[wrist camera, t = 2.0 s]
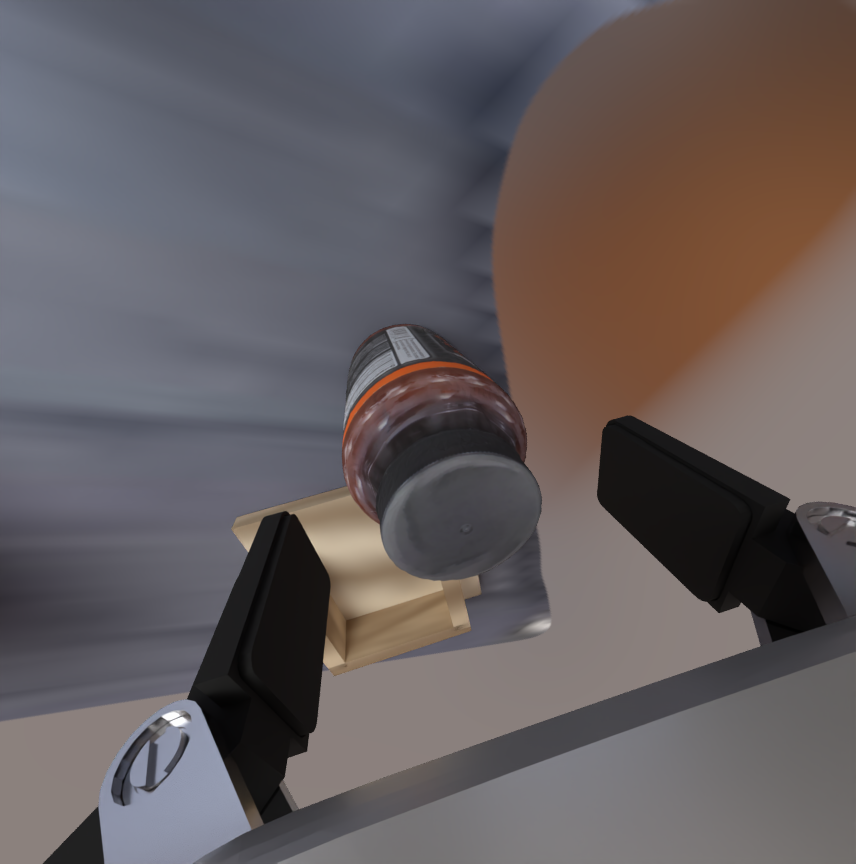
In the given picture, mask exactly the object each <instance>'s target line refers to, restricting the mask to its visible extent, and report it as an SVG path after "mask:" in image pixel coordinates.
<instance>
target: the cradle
mask: <svg viewBox="0 0 856 864" xmlns="http://www.w3.org/2000/svg"><path fill="white" fill-rule="evenodd" d="M283 511H287V512H288V513H289V514H290V515H291V514H295V515H296V516H297V517H298V519H299V521H300V523H301V524H302V526H303V528H304V530H305V532H306V534H307V535H308V537H309V539H310V541H311V543H312V545H313V546H314V548H315V550H316V552H317V554H318V556H319V557H320V559H321V561H322V563H323V565H324V567H325V569H326V570H327V572H328V574H329V577H330V582H331V589H330V599H329V608H328V618H327V628H326V638H325V648H324V658H323V662H324V664H325V665H326V666H327V667H328V669H329V670H330V671H331V673H332V674H333V675H334V676H336V675H339V674H342V673H345V672H348V671H351V670H354V669H357V668H360V667H363V666H366V665H369V664H372V663H375V662H378V661H381V660H384V659H387V658H390V657H393V656H396V655H399V654H402V653H405V652H408V651H411V650H414V649H417V648H420V647H423V646H426V645H429V644H432V643H435V642H438V641H441V640H444V639H447V638H450V637H453V636H457V635H460V634H463V633H466V632H469V631H471V627H470V623H469V618H468V614H467V609H466V605H465V601H464V600H465V599H468V598H471V597H474V596H477V595H480V594H481V589H480V583H479V577H478V575H477V576H473V577H469V578H465V579H460V580H449V581H440V580H439V581H433V580H429V579H421V578H418V577H415V576H412V575H410V574H408V573H407V572H406V571H403V570H401V569H399V568H398V567H397V566H396V565H395V564H394V562H393V561H392V560H391V559H390V558H389V557H388V554H387V553H386V551H385V549H384V546H383V543H382V539H381V533H380V525H379V524H378V523H376V522H375V521H374V520H372V519H371V518H370V517H369V516H367V515H366V514H365V513H364V512H363V511H362V510H361V509H360V507H359V506H358V505H357V504H356V502H355V501H354V499H353V498H352V496H351V494H350V492H349V490H348V487H347V486H346V487H342V488H339V489H335V490H331V491H328V492H324V493H321V494H317V495H314V496H310V497H307V498H303V499H300V500H296V501H293V502H289V503H286V504H282V505H278V506H275V507H271V508H268V509H264V510H261V511H257V512H254V513H250V514H247V515H243V516H240V517H237V518H236V520H235V522H234V525H233V527H232V529H231V530H232V531H233V532H234V534H235V535H236V536H237V538H238V539H239V540H240V542H241V543H242V544H243V546H244V547H245V548H246V550H247V551H248V552H249V550H250V548H251V545H252V543H253V540H254V538H255V535H256V533H257V530H258V528H259V526H260V523H261V521H262V519H263V517H265V516H268V515H272V514H275V513H279V512H283Z"/></svg>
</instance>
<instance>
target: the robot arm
mask: <svg viewBox="0 0 856 864" xmlns="http://www.w3.org/2000/svg"><path fill="white" fill-rule="evenodd" d="M597 497H598V500H599V502H600V504H601V505H602V506H603V507H604V508H605V509H606V510H607V511H608V512H609V513H610V514H611V515H612V516H613V517H614V518H615V519H616V520H617V521H618V522H619V523H620V524H621V525H622V526H623V527H625V529H626V530H627V531H628V532H629V533H631V534H632V535H633V536H634V537H635V538H636V539H637V540H638V541H639V542H640V543H641V544H642V545H643V546H644V547H645V548H646V549H647V550H648V551H649V552H650V553H651V554H652V555H653V556H654V557H655V558H656V559H657V560H658V561H659V562H661V563H662V564H663V565H664V566H665V567H666V568H667V569H668V570H669V571H670V572H671V573H672V574H673V575H674V576H675V577H676V578H677V579H678V580H679V581H680V582H681V583H682V584H683V585H684V586H685V587H686V588H687V589H688V590H689V591H691V593H692V594H694V595H695V596H696V597H697V598H698V599H700V600H702V601H705V602H708V603H709V604H710V605H711V606H712V607H713V608H714V609H715V610H716V611H717V612H718V613H721V612H724V611H727V610H730V609H733V608H736V607H739V605H740V603H743V604H744V605H745V606H746V607H747V608H748V609H750V610H751V614H752V617H753V621H754V624H755V628H756V631H757V635H758V638H759V642H760V645H761V646H760V647H757V648H755V649H752V650H749V651H746V652H743V653H740V654H737V655H734V656H731V657H728V658H725V659H722V660H719V661H717V662H713V663H710V664H708V665H705V666H702V667H699V668H696V669H693V670H690V671H687V672H684V673H681V674H678V675H675V676H672V677H670V678H667V679H664V680H661V681H658V682H655V683H652V684H649V685H646V686H644V687H641V688H638V689H635V690H632V691H629V692H627V693H623V694H620V695H618V696H615V697H612V698H609V699H606V700H603V701H600V702H597V703H595V704H592V705H589V706H586V707H583V708H580V709H577V710H575V711H571V712H569V713H566V714H563V715H560V716H557V717H554V718H551V719H549V720H546V721H543V722H540V723H537V724H534V725H531V726H528V727H526V728H523V729H520V730H517V731H514V732H511V733H509V734H506V735H503V736H500V737H497V738H494V739H491V740H489V741H486V742H483V743H480V744H477V745H474V746H472V747H469V748H466V749H463V750H460V751H458V752H455V753H452V754H449V755H446V756H443V757H441V758H438V759H435V760H432V761H429V762H426V763H424V764H421V765H418V766H415V767H412V768H409V769H407V770H404V771H401V772H398V773H395V774H393V775H390V776H387V777H384V778H382V779H379V780H376V781H374V782H371V783H368V784H365V785H363V786H360V787H357V788H355V789H352V790H350V791H347V792H344V793H341V794H339V795H336V796H334V797H331V798H328V799H326V800H323V801H320V802H318V803H315V804H312V805H310V806H308V807H304V808H302V809H299V808H298V807H297V805H296V803H295V801H294V799H293V797H292V795H291V794H290V792H289V790H288V788H287V786H286V784H285V783H284V781H283V779H284V777H285V771H286V765H287V758H289V757H292V756H295V755H298V754H301V753H303V752H307V747H308V739H309V733H312V732H314V730H315V728H316V724H317V717H318V707H319V697H320V687H321V677H322V667H323V658H324V648H325V638H326V628H327V618H328V608H329V599H330V589H331V582H330V577H329V574H328V572H327V570H326V569H325V567H324V565H323V563H322V561H321V559H320V557H319V556H318V554H317V552H316V550H315V548H314V546H313V545H312V543H311V541H310V539H309V537H308V535H307V534H306V532H305V530H304V528H303V526H302V524H301V523H300V521H299V519H298V517H297V516H296V515H295V514H291V515H290V514H289V513H288V512H287V511H283V512H279V513H275V514H272V515H268V516H265V517H263V519H262V521H261V523H260V526H259V528H258V530H257V533H256V535H255V538H254V540H253V543H252V545H251V548H250V550H249V552H248V555H247V557H246V560H245V562H244V565H243V567H242V570H241V572H240V574H239V577H238V578H237V580H236V582H235V584H234V587H233V589H232V591H231V594H230V596H229V599H228V601H227V603H226V606H225V608H224V611H223V613H222V616H221V618H220V620H219V623H218V625H217V628H216V630H215V633H214V635H213V637H212V640H211V642H210V645H209V647H208V649H207V652H206V654H205V657H204V659H203V662H202V664H201V666H200V669H199V671H198V674H197V676H196V679H195V681H194V683H193V686H192V688H191V691H190V693H189V696H188V698H187V699H185V700H180V701H176V702H173V703H171V704H169V705H167V706H165V707H163V708H161V709H160V710H158V711H157V712H156V713H155V714H153V715H152V716H151V717H149V718H148V719H147V720H146V721H145V722H144V723H143V724H142V725H141V726H140V727H139V728H138V729H137V730H136V731H135V732H134V733H133V734H132V735H131V736H130V738H129V739H128V740H127V741H126V743H125V744H124V745H123V747H122V748H121V749H120V751H119V752H118V753H117V755H116V757H115V758H114V760H113V762H112V764H111V766H110V767H109V769H108V771H107V773H106V776H105V778H104V781H103V784H102V787H101V789H100V796H99V806H98V807H97V808H96V809H95V810H94V811H93V812H92V813H91V814H90V815H89V816H88V817H87V818H86V819H85V821H84V822H83V823H82V824H81V825H80V826H79V827H78V828H77V829H76V830H75V831H74V832H73V833H72V834H71V835H70V836H69V837H68V838H67V839H66V840H65V841H64V842H63V843H62V844H61V845H60V847H59V848H58V849H56V851H54V853H53V854H52V855H51V856H50V857H49V858H48V859H47V860H46V861H45V862H44V863H43V864H856V508H855V507H852V506H848V505H843V504H838V503H831V502H812V503H806V504H804V505H801V506H799V507H798V509H797V510H796V512H795V514H794V513H793V512H791V511H789V510H787V509H786V507H787V505H788V503H789V501H790V499H789V498H787V497H785V496H783V495H782V494H780V493H778V492H776V491H774V490H772V489H770V488H768V487H766V486H764V485H762V484H760V483H759V482H757V481H755V480H753V479H751V478H749V477H747V476H745V475H743V474H742V473H740V472H738V471H736V470H734V469H732V468H730V467H728V466H726V465H724V464H723V463H720V462H719V461H717V460H715V459H713V458H711V457H709V456H707V455H705V454H704V453H702V452H700V451H698V450H696V449H694V448H692V447H690V446H688V445H686V444H685V443H683V442H681V441H679V440H677V439H675V438H673V437H671V436H669V435H667V434H665V433H664V432H662V431H660V430H658V429H656V428H654V427H652V426H650V425H648V424H646V423H644V422H643V421H641V420H639V419H637V418H635V417H633V416H625V417H621V418H617V419H613V420H611V421H609V422H608V423H607V425H606V427H604V429H603V432H602V443H601V455H600V466H599V478H598V490H597Z"/></svg>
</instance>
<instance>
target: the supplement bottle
mask: <svg viewBox="0 0 856 864" xmlns="http://www.w3.org/2000/svg"><path fill="white" fill-rule="evenodd" d="M526 435H527V433H526V428H525V426H524V422H523V418H522V416H521V414H520V413H519V411H518V409H517V407H516V405H515V403H514V402H513V401H512V400H511V398H510V397H509V395H508V394H507V393H506V392H504V390H503V389H502V388H501V387H500V386H498V385H497V384H496V383H495V382H493V381H492V380H491V379H490V378H489V377H488V376H487V375H486V374H485V373H484V372H483V371H481V370H480V369H479V368H478V367H476V366H475V365H474V364H473V363H472V362H470V361H469V360H468V359H466V358H465V357H464V356H463V355H462V354H460V353H459V352H458V351H457V350H456V349H455V348H454V347H452V346H451V345H450V344H449V343H448V342H447V341H445V340H444V339H443V338H442V337H440V336H439V335H437V334H436V333H434V332H432V331H430V330H428V329H426V328H423V327H420V326H417V325H410V324H400V325H392V326H389V327H386V328H383V329H380V330H379V331H377V332H375V333H373V334H372V335H370V336H369V337H368V338H367V339H366V340H365V341H364V342H363V343H362V344H361V345H360V347H359V348H358V349H357V351H356V353H355V355H354V357H353V360H352V362H351V365H350V368H349V374H348V381H347V391H346V407H345V417H344V430H343V447H342V464H343V473H344V478H345V481H346V484H347V487H348V490H349V492H350V494H351V496H352V498H353V499H354V501H355V502H356V504H357V505H358V506H359V507H360V509H361V510H362V511H363V512H364V513H365V514H366V515H367V516H369V517H370V518H371V519H372V520H374V521H375V522H376V523H378V524H379V525H380V533H381V539H382V543H383V546H384V549H385V551H386V553H387V554H388V557H389V558H390V559H391V560H392V561H393V562H394V564H395V565H396V566H397V567H398V568H399V569H401V570H403V571H406V572H407V573H408V574H410V575H412V576H415V577H418V578H421V579H429V580H433V581H439V580H440V581H449V580H460V579H465V578H469V577H473V576H477V575H479V574H481V573H484V572H487V571H489V570H491V569H493V568H494V567H496V566H497V565H499V564H501V563H502V562H504V561H505V560H507V559H508V558H510V557H511V556H512V555H513V554H515V553H516V552H517V551H518V550H519V549H520V548H521V547H522V546H523V545H524V543H525V542H526V541H527V540H528V538H529V537H530V536H531V535H532V533H533V532H534V530H535V528H536V526H537V523H538V520H539V517H540V514H541V504H542V497H541V492H540V488H539V485H538V483H537V481H536V479H535V477H534V476H533V474H532V473H531V471H530V470H529V469H528V467H527V466H526V465H525V464H524V462H525V458H526V450H527V436H526Z"/></svg>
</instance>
